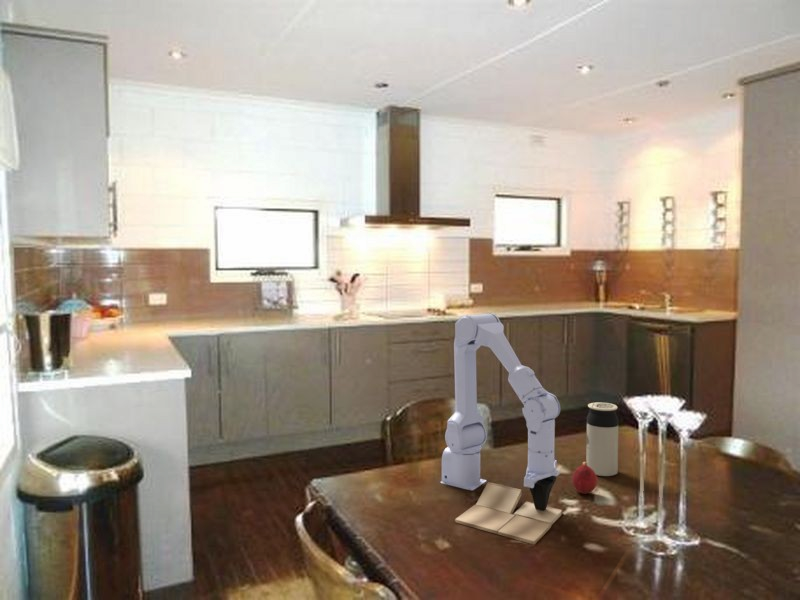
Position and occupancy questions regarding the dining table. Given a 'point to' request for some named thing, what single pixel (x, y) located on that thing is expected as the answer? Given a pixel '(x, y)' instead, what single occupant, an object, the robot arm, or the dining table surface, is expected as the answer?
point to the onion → (584, 479)
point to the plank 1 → (499, 497)
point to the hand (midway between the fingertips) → (540, 508)
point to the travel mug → (602, 439)
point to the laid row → (504, 524)
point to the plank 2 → (538, 513)
